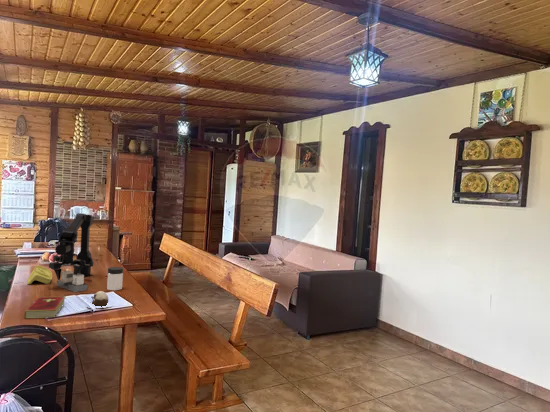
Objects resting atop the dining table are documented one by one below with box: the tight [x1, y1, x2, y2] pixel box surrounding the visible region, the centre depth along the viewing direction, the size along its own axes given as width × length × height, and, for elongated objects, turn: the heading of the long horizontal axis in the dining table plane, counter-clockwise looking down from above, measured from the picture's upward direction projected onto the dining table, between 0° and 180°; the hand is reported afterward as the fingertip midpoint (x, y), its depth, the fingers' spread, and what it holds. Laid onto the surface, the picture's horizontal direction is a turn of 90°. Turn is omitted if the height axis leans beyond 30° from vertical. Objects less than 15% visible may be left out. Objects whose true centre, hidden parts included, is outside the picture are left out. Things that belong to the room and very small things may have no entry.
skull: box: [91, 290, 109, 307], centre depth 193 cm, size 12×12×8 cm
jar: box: [106, 266, 124, 291], centre depth 226 cm, size 9×8×12 cm
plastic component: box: [26, 264, 53, 286], centre depth 230 cm, size 20×7×10 cm
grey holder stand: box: [56, 274, 88, 293], centre depth 220 cm, size 7×18×8 cm, turn 59°
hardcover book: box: [23, 296, 66, 319], centre depth 181 cm, size 12×21×4 cm, turn 18°
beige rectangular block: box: [60, 270, 74, 283], centre depth 223 cm, size 4×5×7 cm
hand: (66, 278), depth 223 cm, fingers open, 9 cm apart
